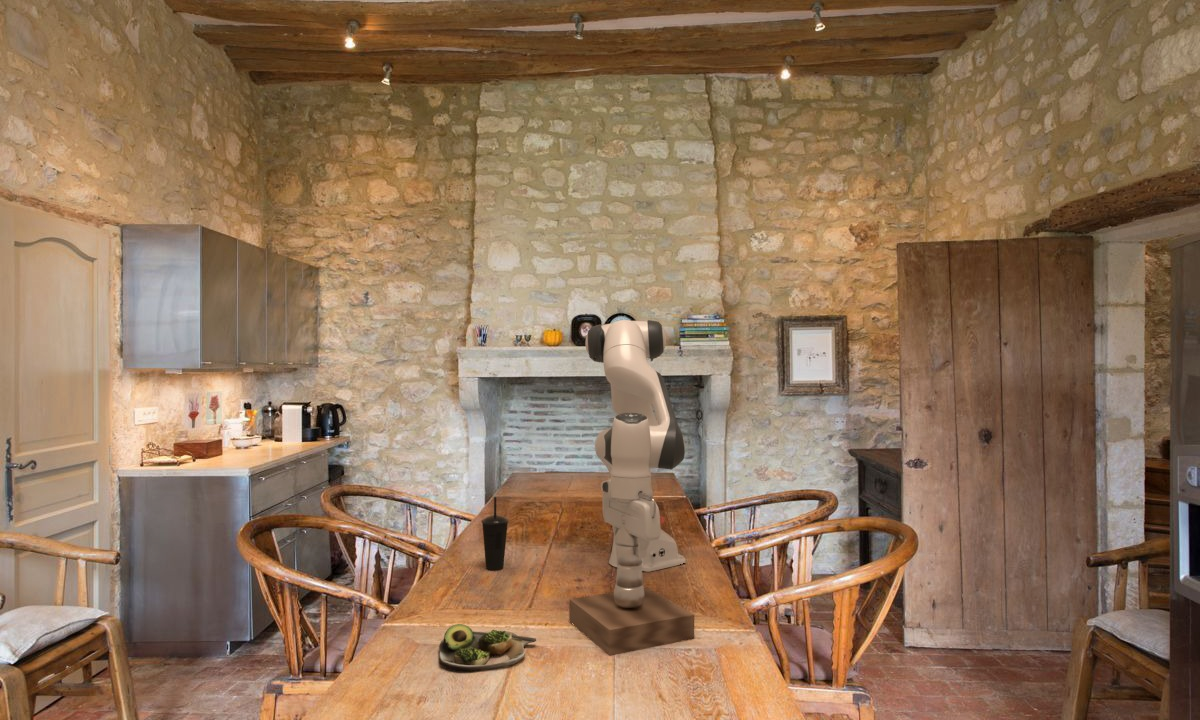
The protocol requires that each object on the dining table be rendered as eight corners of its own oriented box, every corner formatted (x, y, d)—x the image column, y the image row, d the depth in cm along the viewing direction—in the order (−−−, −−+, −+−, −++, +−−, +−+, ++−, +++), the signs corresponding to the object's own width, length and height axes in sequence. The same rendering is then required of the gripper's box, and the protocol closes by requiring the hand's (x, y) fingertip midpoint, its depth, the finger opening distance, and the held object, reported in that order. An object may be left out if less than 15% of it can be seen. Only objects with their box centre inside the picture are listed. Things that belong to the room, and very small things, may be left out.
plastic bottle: (613, 601, 154) (614, 511, 154) (644, 601, 153) (644, 511, 154) (613, 611, 147) (614, 517, 147) (645, 612, 147) (646, 517, 147)
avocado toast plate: (531, 633, 149) (531, 611, 149) (542, 668, 132) (543, 644, 132) (439, 640, 145) (439, 618, 145) (438, 677, 127) (438, 652, 127)
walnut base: (646, 608, 164) (647, 587, 164) (694, 638, 146) (694, 614, 146) (569, 621, 155) (569, 599, 155) (609, 655, 137) (609, 630, 137)
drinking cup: (513, 566, 197) (513, 495, 197) (500, 573, 190) (501, 500, 190) (489, 563, 200) (489, 494, 200) (475, 570, 192) (476, 498, 193)
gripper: (668, 495, 142) (668, 562, 142) (622, 480, 161) (621, 539, 161) (641, 497, 140) (641, 566, 140) (597, 482, 158) (597, 542, 158)
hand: (630, 552), depth 150 cm, fingers open, 8 cm apart
